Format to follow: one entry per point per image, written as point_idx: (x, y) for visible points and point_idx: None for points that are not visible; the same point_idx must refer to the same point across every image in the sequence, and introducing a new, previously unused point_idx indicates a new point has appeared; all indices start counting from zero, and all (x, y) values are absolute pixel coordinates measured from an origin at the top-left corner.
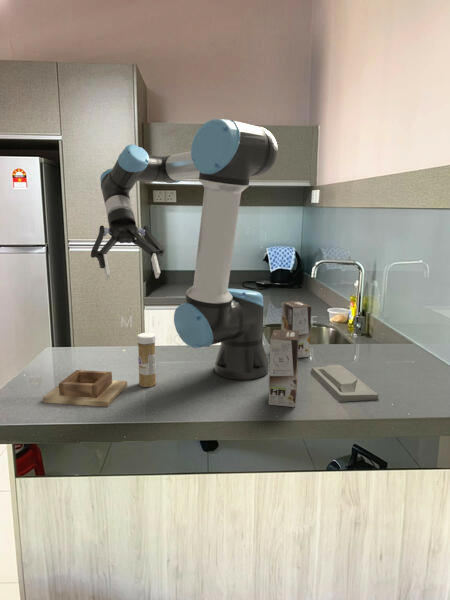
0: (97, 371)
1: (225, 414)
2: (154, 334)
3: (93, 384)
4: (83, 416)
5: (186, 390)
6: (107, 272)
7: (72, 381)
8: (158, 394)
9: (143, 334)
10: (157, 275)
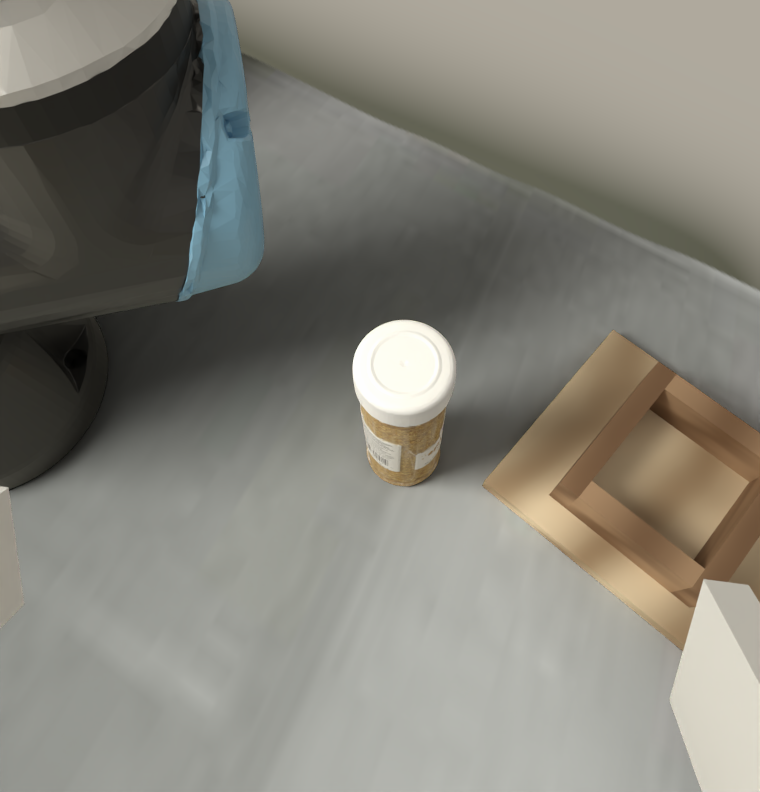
0: (620, 525)
1: (304, 121)
2: (359, 350)
3: (667, 381)
4: (699, 310)
5: (303, 322)
6: (757, 606)
7: (733, 519)
8: None
9: (415, 378)
10: (7, 546)
